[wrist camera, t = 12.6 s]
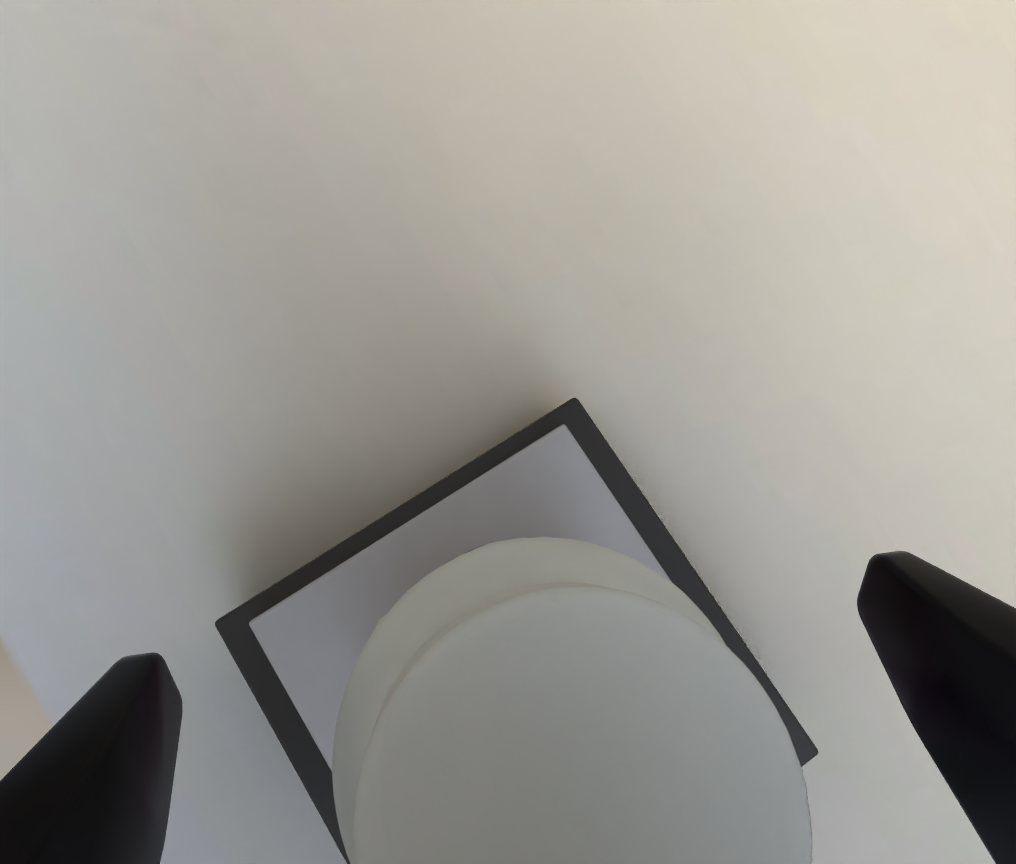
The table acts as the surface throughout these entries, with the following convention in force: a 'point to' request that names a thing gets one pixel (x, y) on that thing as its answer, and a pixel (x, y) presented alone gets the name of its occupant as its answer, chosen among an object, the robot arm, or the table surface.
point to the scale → (428, 545)
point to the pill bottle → (560, 723)
